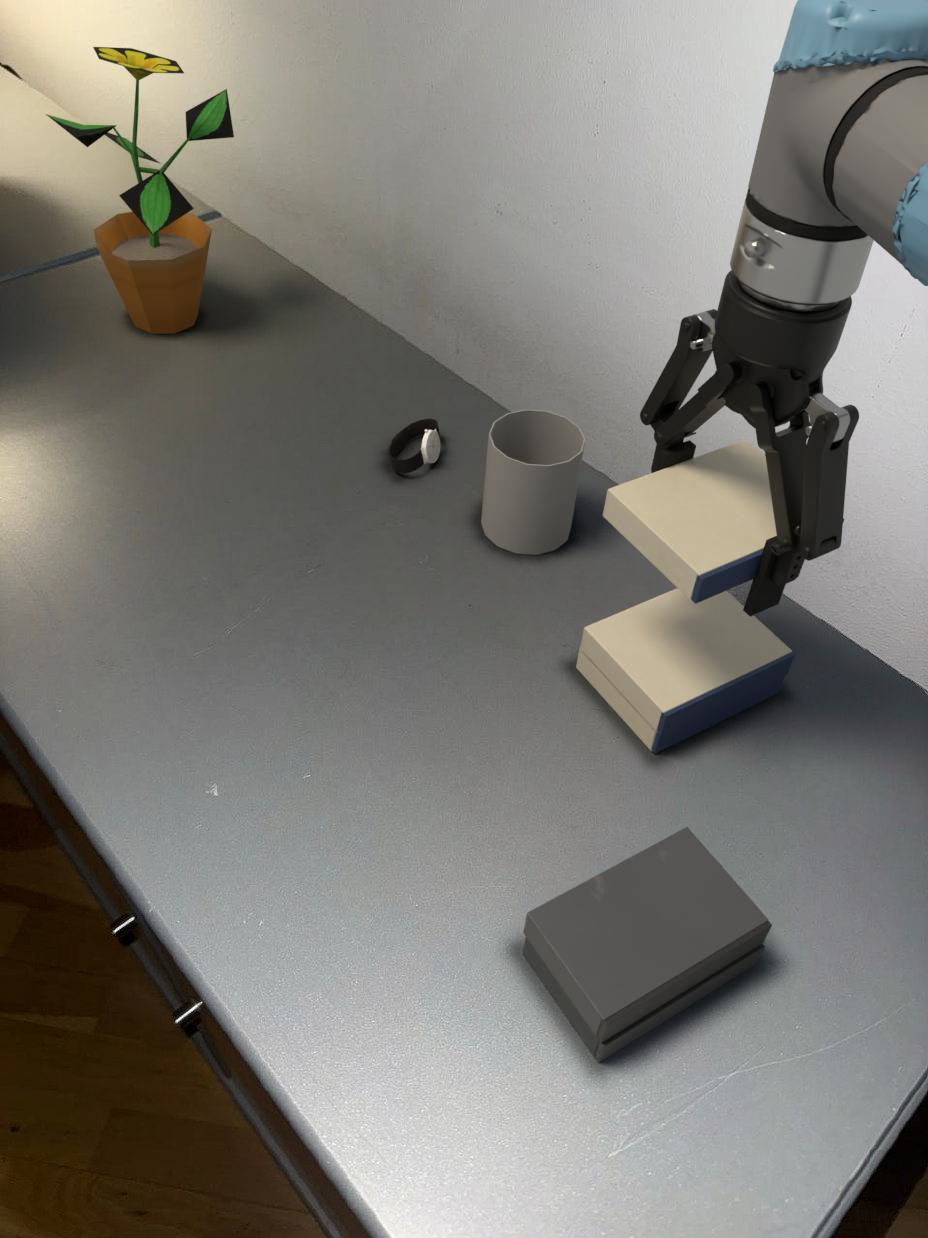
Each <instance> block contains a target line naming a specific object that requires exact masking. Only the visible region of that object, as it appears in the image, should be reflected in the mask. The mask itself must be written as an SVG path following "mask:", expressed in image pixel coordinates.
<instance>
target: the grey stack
mask: <svg viewBox="0 0 928 1238" xmlns="http://www.w3.org/2000/svg"><path fill="white" fill-rule="evenodd" d="M772 926H773V924H772V922H770V921H769V918H768V917H767V916H766V915H765V914H764V912H763V911H762V910H761V909H760V908H759V907H758V905H756V903H755V902H754V901H753V900H752V899H751V898H750V897H749V895H748V894H747V893H746V892H745V890H743V888H742V887H741V886H740V885H739V884H738V883H737V882H736V881H735V879H733V877H732V876H731V875H730V874H729V872H728V871H727V870H726V869H725V868H724V867H723V865H721V864H720V861H718V860H717V859H716V858H715V857H714V855H713V854H712V853H711V852H710V851H709V849H708V848H706V846H705V845H704V844H703V843H702V842H701V840H699V838H698V837H697V836H696V835H695V834H694V832H692V830H691V829H690V828H689V827H688V826H686V827H684V828H682V829H680V830H678V831H677V832H675V833H673V834H671V835H668V836H667V837H665V838H664V839H662V840H659V841H658V842H655V843H654V844H652V845H650V846H649V847H647V848H645V849H643V850H642V851H639V852H637V853H636V854H634V855H632V856H630V857H628V858H626V859H625V860H622V861H621V862H618V863H617V864H615V865H613V866H611V867H610V868H608V869H606V870H604V871H602V872H600V873H598V874H596V875H595V876H592V877H591V878H589V879H587V880H585V881H583V882H582V883H579V884H578V885H576V886H574V887H572V888H571V889H569V890H567V891H565V892H563V893H561V894H559V895H557V896H555V897H553V898H552V899H549V900H548V901H546V902H544V903H543V904H541V905H539V906H536V907H535V908H532V909H531V910H529V911H528V912H526V917H525V921H524V926H523V927H524V928H523V934H524V937H525V939H524V945H523V950H522V956H523V957H524V958H525V960H526V961H527V963H528V964H529V965H530V967H531V968H532V969H533V972H534V973H535V974H536V976H537V977H538V979H539V980H540V982H541V983H542V984H543V986H544V987H545V988H546V990H547V991H548V993H549V994H550V996H551V997H552V999H553V1001H554V1002H555V1003H556V1005H557V1006H558V1008H559V1009H560V1010H561V1012H562V1013H563V1015H564V1016H565V1017H566V1019H567V1020H568V1022H569V1023H570V1024H571V1026H572V1028H573V1029H574V1031H575V1032H576V1033H577V1035H578V1036H579V1038H580V1039H581V1040H582V1042H583V1044H584V1045H585V1047H586V1048H587V1049H588V1051H589V1052H590V1054H591V1055H592V1057H593V1059H595V1060H596V1061H597V1062H598V1063H601V1062H602V1061H604V1060H605V1059H607V1058H609V1057H610V1056H612V1055H613V1054H615V1053H616V1052H618V1051H620V1050H622V1049H623V1048H625V1047H627V1046H628V1045H630V1044H631V1043H632V1042H634V1041H636V1040H638V1039H639V1038H641V1037H643V1036H644V1035H645V1034H647V1033H649V1032H651V1031H652V1030H653V1029H655V1028H656V1027H658V1026H660V1025H661V1024H663V1023H665V1022H666V1021H668V1020H669V1019H671V1018H672V1017H674V1016H676V1015H678V1014H679V1013H680V1012H682V1011H684V1010H685V1009H687V1008H689V1007H690V1006H692V1005H694V1004H695V1003H697V1002H698V1001H700V1000H702V999H703V998H704V997H706V996H708V995H709V994H711V993H712V992H714V991H716V990H717V989H720V988H721V987H722V986H724V985H725V984H727V983H729V982H730V981H731V980H733V979H735V978H736V977H739V976H740V975H741V974H743V973H744V972H746V971H748V970H749V969H751V968H752V967H754V966H756V965H757V964H758V962H759V961H760V959H761V956H762V955H763V953H764V950H765V948H766V945H765V944H764V943H765V941H766V939H767V936H768V934H769V932H770V930H771V928H772Z"/></svg>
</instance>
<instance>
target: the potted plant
mask: <svg viewBox="0 0 928 1238" xmlns="http://www.w3.org/2000/svg"><path fill="white" fill-rule="evenodd" d="M92 48H93V50H94V52H95V54H96V57H97V58H98V59H99V60H101V61H105V62H108V63H112V64H114V65H119V66H122V67H123V68H124V69H125V70H126V71H127V72H128V73H129V74H130V75H131V77H133V78H134V79H135V94H134V109H133V124H132V138H131V139H132V140H129V139H128V138H126V137H123V136H121V134H120V133H119V131H118V130H117V129H116V127H117V126H118V125H117V124H83V123H79V122H75V121H71V120H69V119H65V118H62V117H58V116H54V115H50V114H46V113H45V115H46V116H47V117H48V118H49V119H51V120H52V121H53V122H55V124H57V125H58V126H59V127H61V128H62V129H63V130H64V131H66V132H67V133H69V135H71V136H72V137H74V138H75V139H76V140H77V141H79V142H80V143H81V144H82V145H84V146H85V147H86V148H89V147H90V146H91V145H93V144H94V143H96V142H97V141H98V140H99V139H101V138H102V137H104V136H106V138H108V139H110V140H111V141H113V142H114V143H115V144H117V146H119V147H121V148H122V149H123V150H125V151H126V152H127V153H129V155H130V157H131V161H132V165H133V169H134V172H135V176H136V180H137V184H135V185H134V186H132V187H130V188H129V189H127V190H125V191H124V192H122V193H121V194H119V195H118V196H119V197H120V198H121V200H122V201H123V202H124V204H125V205H126V206H127V207H128V208H129V210H130V211H127V212H121V213H117V214H116V215H114V216H112V217H111V218H109V219H108V220H106V221H105V222H103V223H102V224H100V225H99V226H97V227H96V228H93V234H94V239H95V244H96V249H97V252H98V253H99V255H100V257H101V259H102V261H103V263H104V265H105V268H106V270H107V272H108V274H109V276H110V278H111V280H112V282H113V285H114V286H115V288H116V290H117V293H118V294H119V296H120V299H121V300H122V303H123V304H124V307H125V308H126V311H127V313H128V315H129V317H130V319H131V321H132V323H133V325H134V327H135V328H137V329H139V330H142V331H144V332H146V333H149V334H151V335H161V334H163V335H164V334H165V335H166V334H178V333H180V332H182V331H184V330H186V329H190V328H191V327H193V326H195V323H196V320H197V319H198V316H199V311H200V306H201V299H202V293H203V287H204V281H205V275H206V268H207V263H208V255H209V250H210V244H211V237H212V233H213V232H212V231H213V229H212V228H211V227H210V226H209V225H208V224H207V223H205V222H204V221H203V220H202V219H201V218H199V217H198V216H197V215H196V214H194V213H193V212H191V211H193V210H194V209H195V208H194V207H193V205H191V203H190V202H189V201H188V200H187V199H186V197H185V196H184V195H183V193H182V192H180V190H179V189H178V188H177V186H176V185H175V184H174V183H173V182H172V180H171V179H170V178H169V177H168V175H166V171H167V170H168V169H169V168H170V166H171V165H172V163H173V162H174V161H175V159H176V158H177V157H178V156H179V154H180V153H181V151H182V150H183V149H184V147H186V145H187V144H188V142H193V141H196V142H197V141H205V140H218V139H219V140H220V139H231V138H235V134H234V127H233V121H232V114H231V107H230V101H229V95H228V89H227V88H225V89H223V90H222V91H220V92H218V93H216V94H214V95H213V96H211V97H209V98H208V99H206V100H204V101H202V102H200V103H199V104H197V105H195V106H194V107H192V108H190V109H188V110H186V111H185V131H186V140H185V141H184V142H182V143H181V145H180V146H179V147H178V148H177V150H176V151H175V152H174V153H172V155H171V156H170V157H169V159H168V160H167V161H166V162H165V163H163V165H162V164H161V162H159V160H157V159H155V158H154V157H153V156H151V155H150V154H149V153H148V152H145V150H143V149H142V148H140V147H139V146H138V144H137V143H138V142H137V141H138V128H139V127H138V125H139V106H140V105H139V100H140V81H141V80H143V79H145V78H146V77H148V76H150V75H153V74H185V72H184V70H183V69H182V68H181V66H180V65H179V63H178V62H177V60H175V59H174V60H173V59H171V58H167V57H163V56H161V55H156V54H153V53H150V52H146V51H143V50H139V49H137V48H132V47H109V46H108V47H107V46H92ZM112 130H113V131H114V132H115V133H111V131H112ZM139 158H140V159H144V160H146V161H150V162H154V163H157V164H160V165H162V166H161V167H160V168H159V169H158V168H153V167H152V168H151V167H143V166H140V161H139ZM142 173H143V174H144V173H145V174H150V175H149V176H148V177H146V178H145V179H143V176H142Z"/></svg>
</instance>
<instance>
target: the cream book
mask: <svg viewBox="0 0 928 1238" xmlns="http://www.w3.org/2000/svg"><path fill="white" fill-rule="evenodd" d="M602 517H603V518H604V519H605V520H606V521H607V522H608V523H609V524H610V525H611V526H612V527H613V528H614V529H615V530H616V531H617V532H618V533H620V534H621V536H623V537H624V539H626V540H627V541H628V542H629V543H630V544H631V545H632V546H633V547H634V548H635V549H636V550H638V552H640V553H641V555H642V556H644V557H645V558H646V559H647V561H649V562H650V563H651V564H652V565H653V566H654V567H655V568H656V569H657V570H658V571H659V572H660V573H661V574H662V575H663V576H664V577H665V578H667V580H669V582H671V583H672V584H673V586H675V587H676V589H677V588H678V589H679V590H680V591H681V592H682V593H683V594H684V595H685V596H686V597H687V598H689V599H690V600H691V601H693V602H694V603H695V604H697V603H699V602H701V601H703V600H706V599H708V598H710V597H713V596H715V595H717V594H720V593H722V592H724V591H727V592H728V591H729V590H731V589H733V588H736V587H738V586H741V585H743V584H745V583H747V582H749V581H751V580H752V581H753V579H754V576H755V573H756V570H757V567H758V564H759V561H760V558H761V555H762V552H763V549H764V546H765V543H766V540H768V539H770V538H772V537H775V536H777V533H776V526H775V519H774V512H773V505H772V498H771V491H770V484H769V477H768V470H767V463H766V456H765V453H763V452H762V451H761V449H758V448H757V447H756V446H754V444H752V443H751V442H749V441H748V440H747V439H743V440H740V441H736V442H735V443H731V444H729V445H726V446H723V447H721V448H718V449H714V450H712V451H709V452H707V453H704V454H701V455H698V456H694V457H693V458H692V459H690V460H687V461H684V462H681V463H679V464H676V465H673V466H670V467H668V468H665V469H662V470H659V471H656V472H654V473H649V474H646V475H642V476H640V477H637V478H634V479H632V480H629V481H626V482H624V483H623V482H622V483H620V484H617V485H614V486H612V487H610V488H607V491H606V497H605V501H604V507H603V512H602ZM844 522H845V517H843V523H844ZM798 527H799V526H798ZM798 527H797V528H798Z"/></svg>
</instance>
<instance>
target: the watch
mask: <svg viewBox="0 0 928 1238" xmlns="http://www.w3.org/2000/svg"><path fill="white" fill-rule="evenodd" d="M421 435H423V437H422V440H421V445H420V446H421V447H420V450H419V451H418V452H417V453H416V454H414V455H412V456H410V457H408V458H404V459H397V455H398V454H399V452H400V451H401V450H402V449H404V447H405V446H406V444H407V443H409V442H410V441H411V440H413V439H415V438H416V437H418V436H421ZM440 450H441V434H440V427H439V422H438V420H436V419H435V418H424V419H423V418H422V419H419V420H417V421H413V422H412V423H409V424H408V425H407V426H406V427H404V428H402V430H400V431H399V432H398V433H396V434H395V436H394V437H393V438H392V439H391V444H390V445H389V447H388V451H387V452H388V456H389V457H388V458H389V460H390V464H391V468H392V470H393V471H394V472H396V473H398V474H409V473H412V472H415V471H417V470H419V469H420V468H421V467H422V466H423V465H426V464H434V463H435V462H436V461H437V460H438V459H439V456H440V452H441V451H440Z"/></svg>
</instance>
